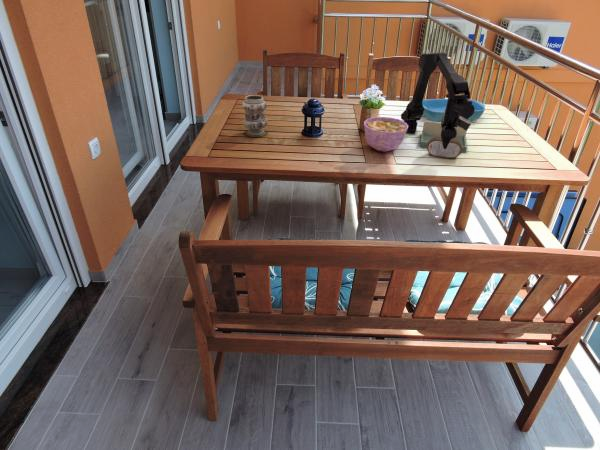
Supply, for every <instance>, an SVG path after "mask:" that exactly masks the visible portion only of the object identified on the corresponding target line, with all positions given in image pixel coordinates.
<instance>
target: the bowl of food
mask: <svg viewBox="0 0 600 450" xmlns="http://www.w3.org/2000/svg"><path fill="white" fill-rule="evenodd" d="M363 127H364V135H365V140H366V143H367V145H368V146H369V147H371V148H373V149H374V150H376V151H379V152H385V153H386V152H391V151H393V150H395V149H397V148H399V147H400V146H401V145H402V143H403V141H404V138H405V136H406V134H407V133H406V131H407V129H408V125H407V123H405V122H404V120H402V119H399V118H395V117H388V116H374V117H369V118H367V119H366V120H364V121H363Z"/></svg>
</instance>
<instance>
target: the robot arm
mask: <svg viewBox="0 0 600 450" xmlns="http://www.w3.org/2000/svg"><path fill="white" fill-rule="evenodd" d="M417 66H418V69H419V74H418V78H417V82H416V85H415V87H414V91H413V95H412V99H411V101H409V103H407V105H406V107H405V110H403V112H402V113H401V114H400V120H401V121H404V122H405V123H407V125H408V129H407V131H406V134H412V135H415V133H416V132H417V128H418V122H417V121H421V119H422V117H423V116H424V114H423V112H424V110H425V108H424V107H423V104H422V102H423V100H424V98H425V95H426V91H427V89H428V85H429V81H430V79H431V75H432V74H433V73H434V72H435V70H437V68H438V70H439V71H440V73H441V75H442V76H443V78H444V79H445V82H446V83H445V88H446V90H447V91H446V92H447V94H445V97H446V99H448V101H447V105H446V110H445V115H444V117H442V121H441V128H442V130H441V139H442V144H443V149H446V148H447V146H448V144H449V142H450V140H451V139H453V138H455V137H456V135H457V130H456V128H454V127H457V126H459V127H461V128H463V129H464V130H467V131H468V130H469V128H470V127H471V125H472V121H470V120H468V118H469V117H471V116H472V115H473V113H474V111H475V109H474V106H473V105H472V101H470V100H467V99H471V91H470V87H469V82H468V80H467V79H466V78H465V77H464V76H462V75H460V74H459V73H458V72H457V71H456V69H455V67H454V66H453V64H452V63H451V61H450V59H449V57H448V53H446V52H428V53H427V52H426V53H422V54H420V56H419V59H418V65H417Z"/></svg>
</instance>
